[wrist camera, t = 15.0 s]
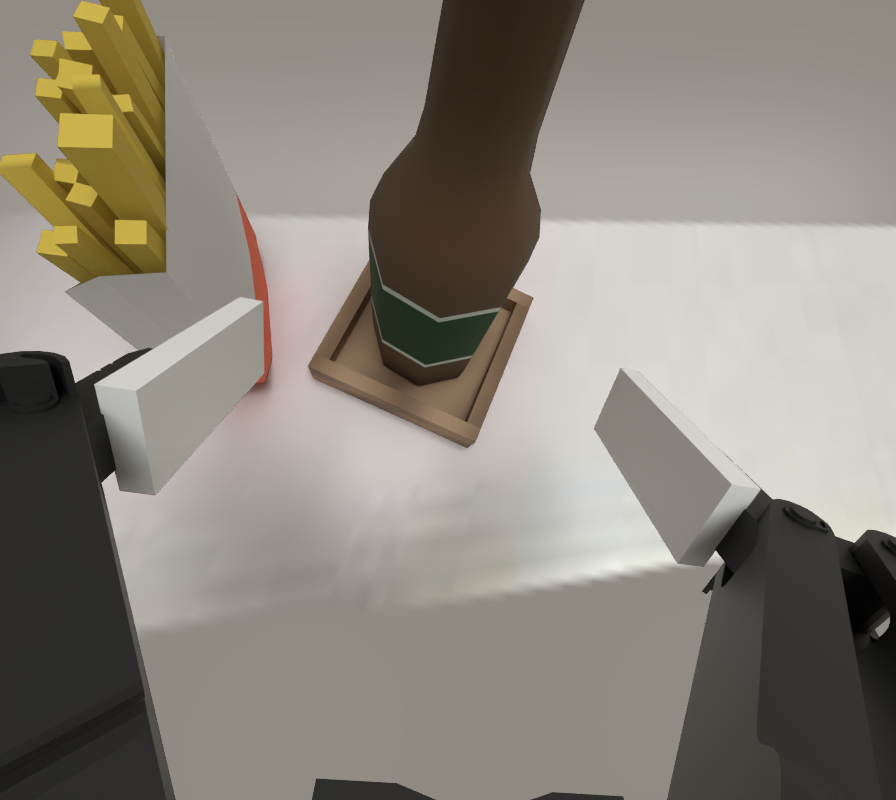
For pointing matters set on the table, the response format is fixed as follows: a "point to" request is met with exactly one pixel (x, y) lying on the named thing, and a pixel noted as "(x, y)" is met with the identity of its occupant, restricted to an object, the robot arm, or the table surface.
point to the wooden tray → (431, 405)
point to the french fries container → (135, 184)
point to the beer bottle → (465, 185)
